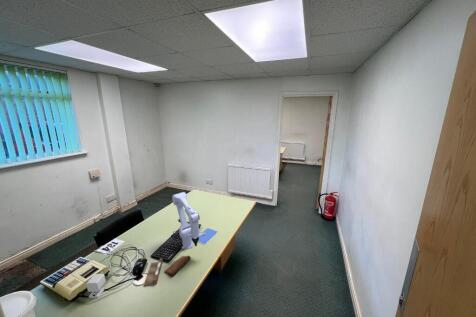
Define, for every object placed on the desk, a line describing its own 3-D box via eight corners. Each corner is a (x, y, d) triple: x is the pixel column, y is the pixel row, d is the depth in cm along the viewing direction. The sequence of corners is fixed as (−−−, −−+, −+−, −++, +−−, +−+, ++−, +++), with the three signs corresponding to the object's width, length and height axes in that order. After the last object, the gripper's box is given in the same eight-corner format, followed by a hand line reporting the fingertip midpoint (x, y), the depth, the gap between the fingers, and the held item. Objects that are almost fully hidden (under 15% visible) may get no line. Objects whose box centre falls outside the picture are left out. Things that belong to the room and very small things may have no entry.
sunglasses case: (182, 255, 140) (185, 250, 137) (188, 261, 138) (191, 257, 135) (163, 272, 124) (165, 267, 121) (169, 280, 122) (172, 275, 119)
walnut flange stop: (151, 263, 132) (150, 259, 131) (162, 262, 133) (162, 257, 132) (143, 286, 115) (142, 281, 114) (156, 284, 116) (155, 279, 115)
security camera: (107, 286, 115) (104, 273, 112) (99, 297, 108) (95, 284, 105) (96, 287, 114) (93, 274, 112) (88, 298, 108) (84, 284, 105)
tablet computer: (205, 245, 150) (204, 244, 150) (193, 240, 156) (193, 239, 156) (218, 232, 166) (218, 231, 166) (207, 228, 173) (207, 227, 172)
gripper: (183, 233, 128) (185, 250, 131) (205, 231, 130) (206, 247, 133) (184, 227, 134) (186, 243, 138) (204, 225, 137) (205, 241, 140)
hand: (196, 245), depth 136 cm, fingers closed
